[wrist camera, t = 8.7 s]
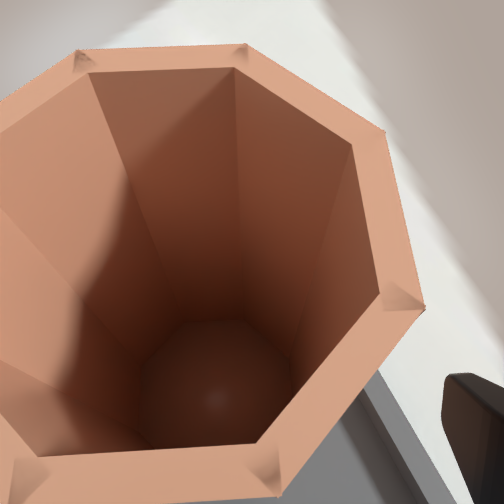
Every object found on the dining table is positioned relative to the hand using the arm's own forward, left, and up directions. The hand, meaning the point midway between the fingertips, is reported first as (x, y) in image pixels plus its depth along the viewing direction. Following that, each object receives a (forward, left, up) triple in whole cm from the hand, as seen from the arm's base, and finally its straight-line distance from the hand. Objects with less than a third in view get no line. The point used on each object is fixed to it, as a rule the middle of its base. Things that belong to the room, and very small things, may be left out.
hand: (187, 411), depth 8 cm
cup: (+2, -1, -10) cm, 10 cm away
